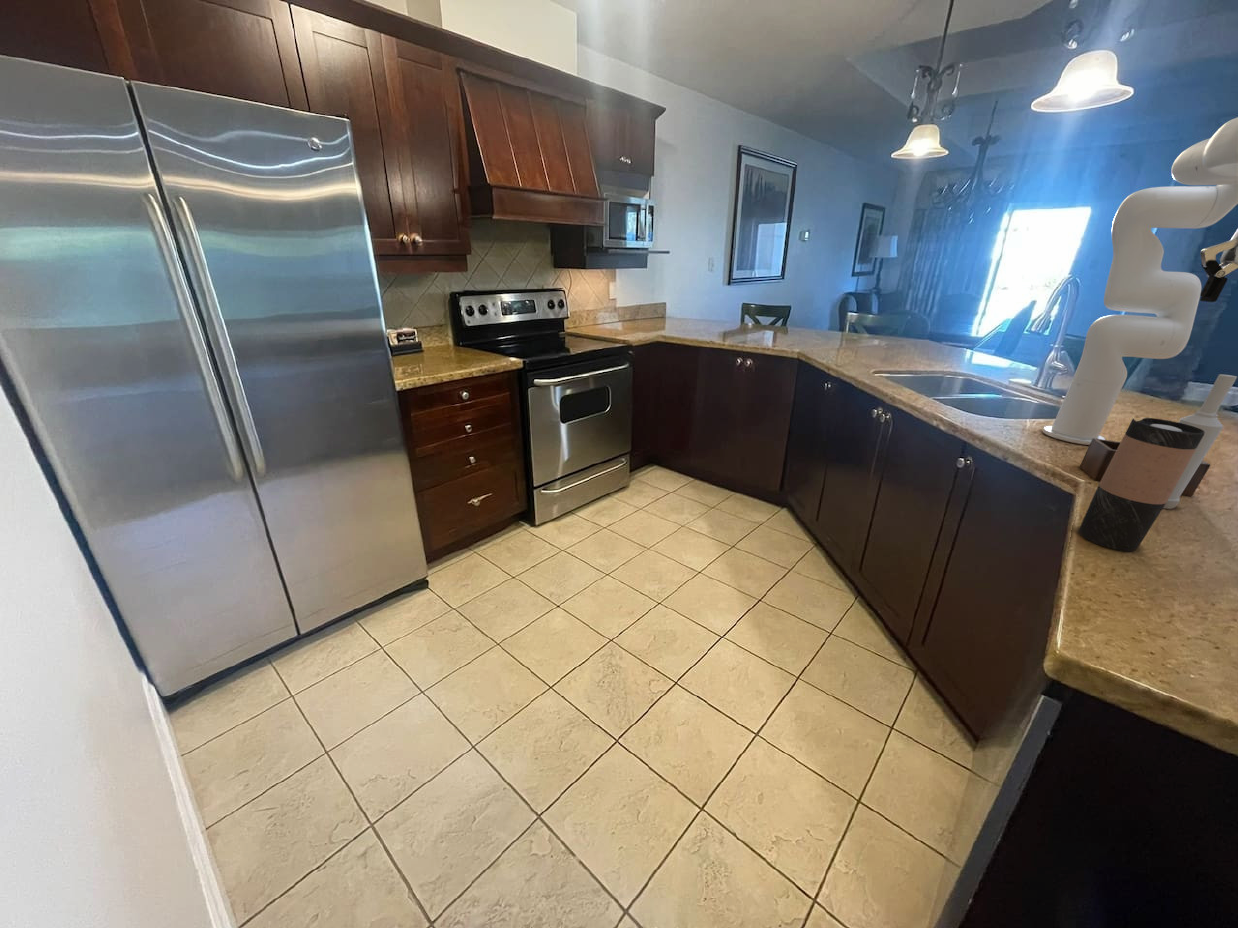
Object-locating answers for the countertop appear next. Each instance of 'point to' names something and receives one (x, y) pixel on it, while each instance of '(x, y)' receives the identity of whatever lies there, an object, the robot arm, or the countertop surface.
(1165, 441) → the travel mug
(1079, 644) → the countertop surface
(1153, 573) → the countertop surface
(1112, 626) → the countertop surface
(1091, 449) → the dark brown box
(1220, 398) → the bottle
